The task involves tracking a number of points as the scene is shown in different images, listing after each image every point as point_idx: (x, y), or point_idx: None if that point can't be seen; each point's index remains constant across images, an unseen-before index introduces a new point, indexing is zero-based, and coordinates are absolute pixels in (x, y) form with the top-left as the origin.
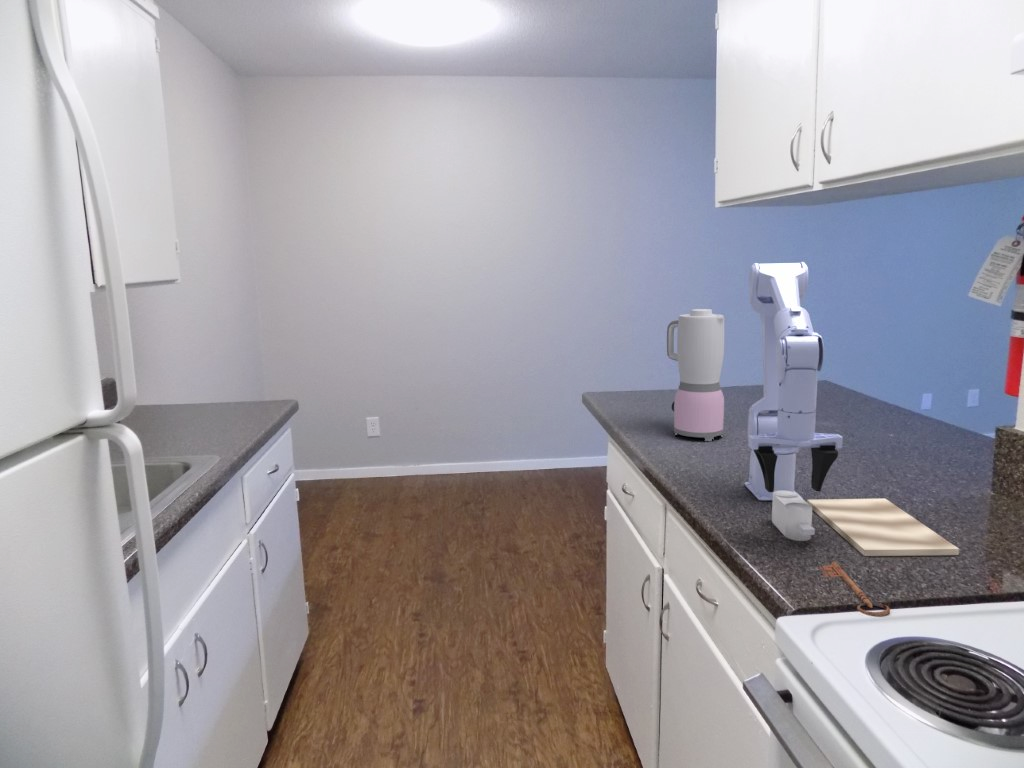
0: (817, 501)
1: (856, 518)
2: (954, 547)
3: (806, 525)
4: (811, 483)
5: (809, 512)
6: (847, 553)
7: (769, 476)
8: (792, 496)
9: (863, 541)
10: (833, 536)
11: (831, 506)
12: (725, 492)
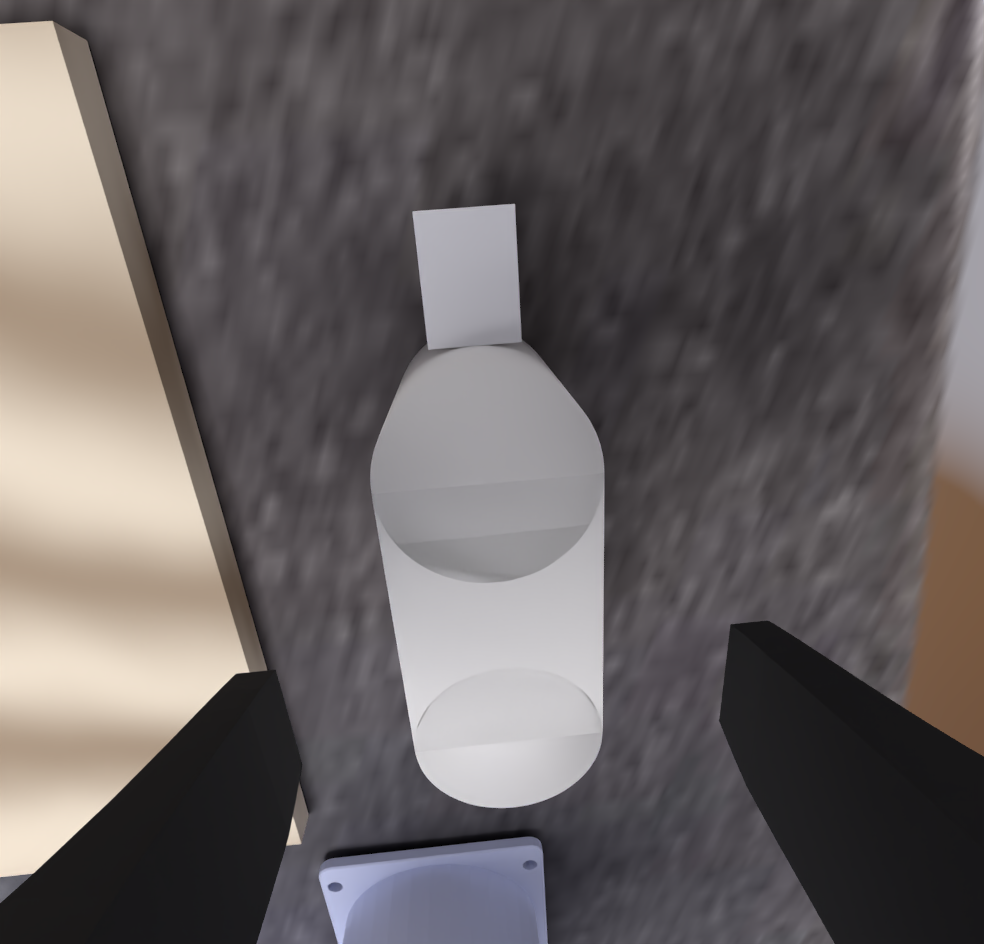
0: None
1: (54, 623)
2: None
3: (460, 301)
4: (292, 810)
5: (417, 387)
6: (207, 102)
7: (951, 750)
8: (468, 705)
9: (45, 219)
10: (250, 411)
11: None
12: (660, 904)
